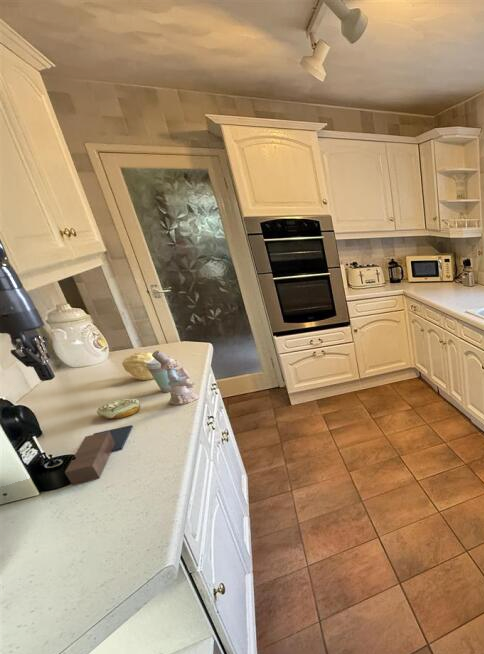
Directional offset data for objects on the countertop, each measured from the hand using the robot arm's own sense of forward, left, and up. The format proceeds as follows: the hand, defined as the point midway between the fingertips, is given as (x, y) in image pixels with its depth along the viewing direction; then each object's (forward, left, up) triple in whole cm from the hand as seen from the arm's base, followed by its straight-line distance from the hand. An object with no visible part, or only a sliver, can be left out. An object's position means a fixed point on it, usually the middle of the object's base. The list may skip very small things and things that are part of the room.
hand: (48, 379), depth 96 cm
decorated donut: (+21, +28, -25) cm, 43 cm away
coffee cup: (+40, +34, -25) cm, 58 cm away
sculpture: (+46, +56, -25) cm, 77 cm away
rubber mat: (+8, +10, -25) cm, 28 cm away
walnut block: (-6, -8, -23) cm, 25 cm away
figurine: (+34, +17, -25) cm, 46 cm away
